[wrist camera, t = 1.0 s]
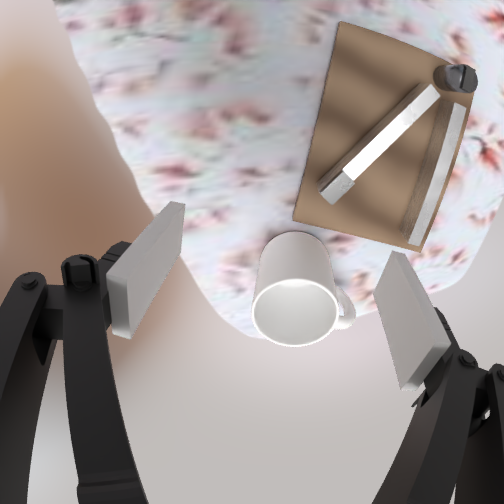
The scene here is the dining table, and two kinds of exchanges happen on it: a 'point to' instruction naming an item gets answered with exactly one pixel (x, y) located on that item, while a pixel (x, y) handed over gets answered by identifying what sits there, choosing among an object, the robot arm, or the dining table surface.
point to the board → (360, 124)
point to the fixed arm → (438, 151)
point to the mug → (298, 292)
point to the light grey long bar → (376, 142)
